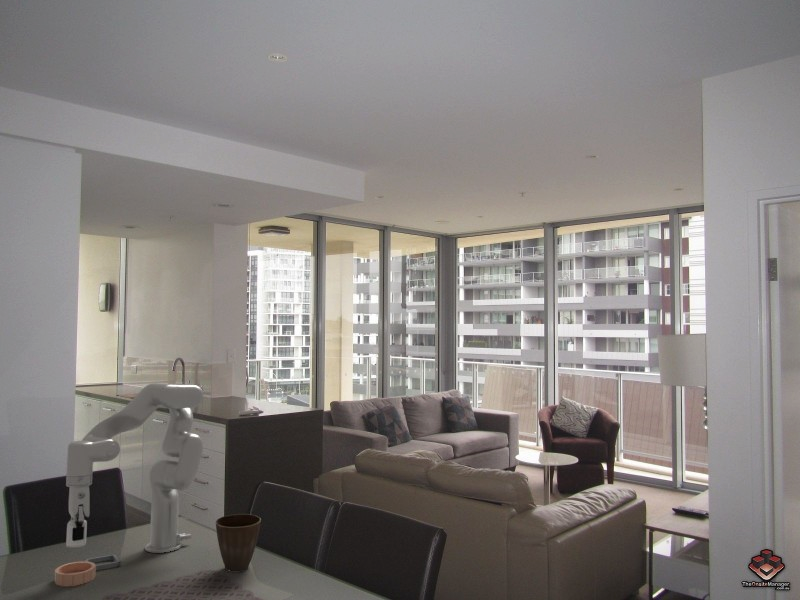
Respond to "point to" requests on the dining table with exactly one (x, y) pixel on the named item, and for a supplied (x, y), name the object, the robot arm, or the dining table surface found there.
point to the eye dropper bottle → (69, 535)
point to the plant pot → (237, 539)
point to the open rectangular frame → (105, 558)
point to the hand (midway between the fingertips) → (76, 537)
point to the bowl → (75, 573)
